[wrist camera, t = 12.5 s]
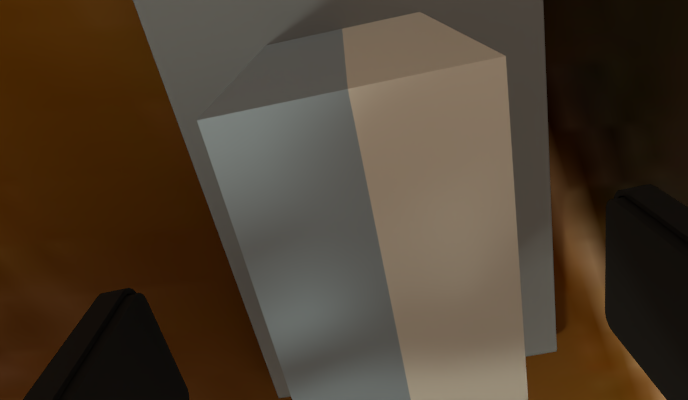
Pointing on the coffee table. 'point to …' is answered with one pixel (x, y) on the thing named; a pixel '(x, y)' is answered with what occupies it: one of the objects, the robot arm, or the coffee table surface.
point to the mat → (342, 12)
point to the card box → (378, 211)
